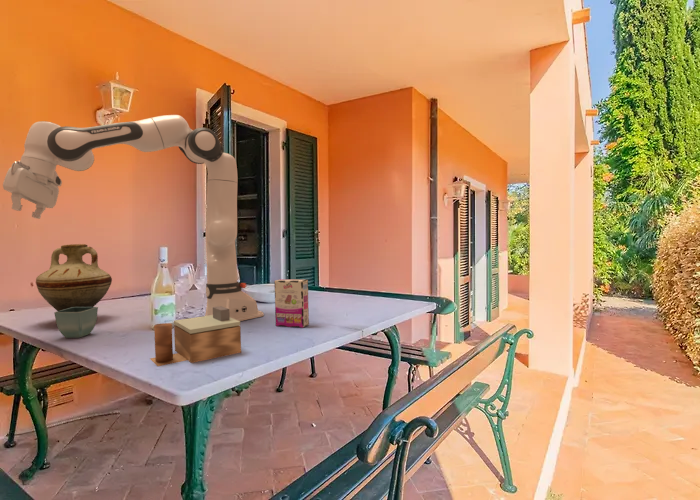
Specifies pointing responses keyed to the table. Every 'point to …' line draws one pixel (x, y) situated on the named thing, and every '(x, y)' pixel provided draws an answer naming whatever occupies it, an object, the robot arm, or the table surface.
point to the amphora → (73, 279)
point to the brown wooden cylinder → (163, 342)
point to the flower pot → (76, 321)
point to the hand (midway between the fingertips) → (26, 214)
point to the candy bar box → (291, 303)
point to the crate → (204, 344)
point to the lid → (208, 321)
